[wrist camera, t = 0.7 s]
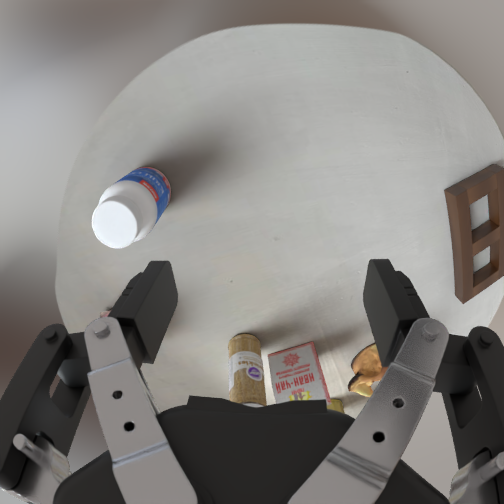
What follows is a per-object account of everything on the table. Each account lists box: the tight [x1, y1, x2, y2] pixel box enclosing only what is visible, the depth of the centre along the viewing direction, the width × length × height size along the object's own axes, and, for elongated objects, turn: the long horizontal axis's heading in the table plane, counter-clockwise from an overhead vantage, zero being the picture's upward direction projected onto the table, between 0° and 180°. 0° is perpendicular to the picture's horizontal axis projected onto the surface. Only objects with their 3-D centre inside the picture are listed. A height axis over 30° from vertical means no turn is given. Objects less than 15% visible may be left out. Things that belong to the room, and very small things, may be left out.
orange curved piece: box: [348, 344, 388, 397], centre depth 41 cm, size 12×10×8 cm
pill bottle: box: [92, 167, 171, 248], centre depth 25 cm, size 6×5×10 cm
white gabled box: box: [268, 342, 332, 405], centre depth 38 cm, size 4×7×10 cm, turn 109°
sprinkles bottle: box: [228, 334, 267, 407], centre depth 34 cm, size 5×5×13 cm
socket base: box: [444, 164, 504, 304], centre depth 34 cm, size 11×19×2 cm, turn 27°
